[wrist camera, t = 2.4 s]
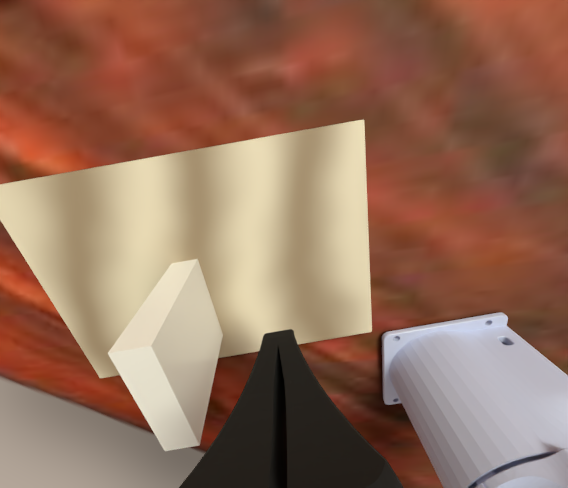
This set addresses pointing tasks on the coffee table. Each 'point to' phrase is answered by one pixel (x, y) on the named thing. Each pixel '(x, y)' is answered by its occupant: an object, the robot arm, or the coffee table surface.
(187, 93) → the coffee table surface
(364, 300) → the board
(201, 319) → the tile
